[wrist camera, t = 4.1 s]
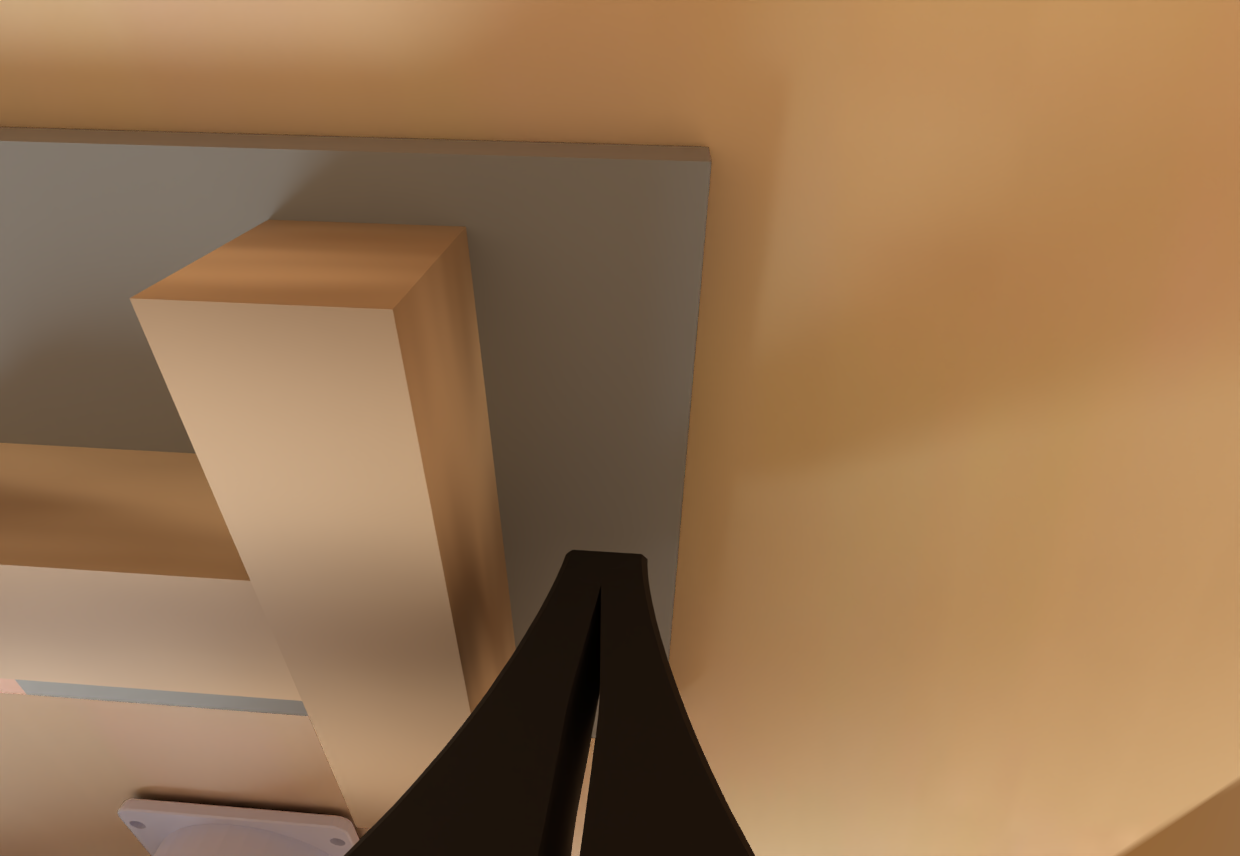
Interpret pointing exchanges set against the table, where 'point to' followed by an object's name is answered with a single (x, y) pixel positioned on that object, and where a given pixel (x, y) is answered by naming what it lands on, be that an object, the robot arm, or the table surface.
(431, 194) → the slate board
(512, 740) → the robot arm
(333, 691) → the t block
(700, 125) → the table surface
